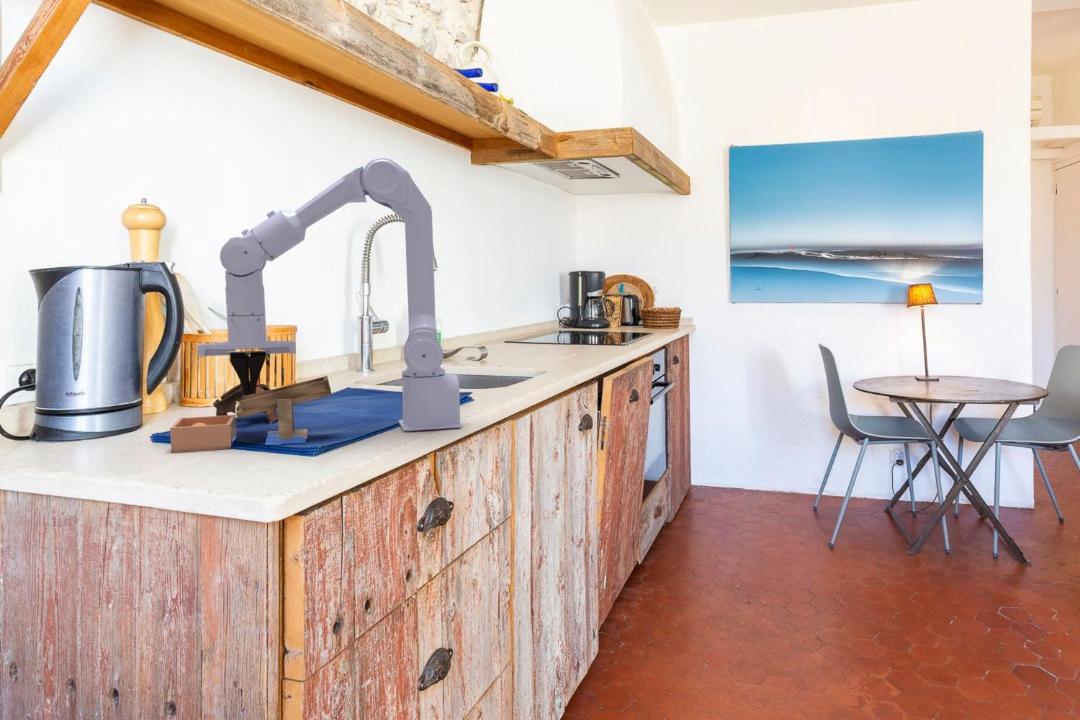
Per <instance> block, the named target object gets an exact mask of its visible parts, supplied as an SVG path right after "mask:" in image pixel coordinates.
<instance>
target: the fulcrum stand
mask: <svg viewBox="0 0 1080 720" xmlns="http://www.w3.org/2000/svg"><path fill="white" fill-rule="evenodd" d="M277 416H278V418H277V425H278V428H277V429H278V430H274V431H273V430H271V431H267V433H278V434H279V439H293V435H294V436H295V435H296V436H300V437H301V436H302V437H305V438H307V439H308V428H304V429H295V423H294V421H295V419H294V417H295V416H294V404H293V405H291V399H278V400H277Z"/></svg>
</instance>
